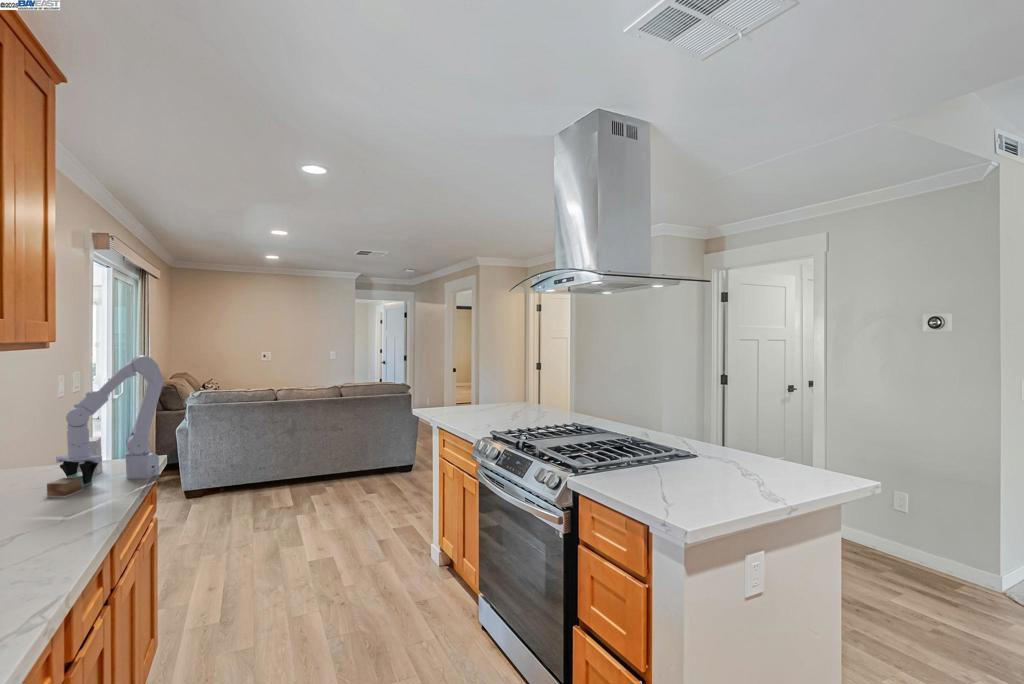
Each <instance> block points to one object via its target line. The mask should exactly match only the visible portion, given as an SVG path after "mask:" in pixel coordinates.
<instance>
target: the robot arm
mask: <svg viewBox="0 0 1024 684" xmlns="http://www.w3.org/2000/svg"><path fill="white" fill-rule="evenodd" d="M137 373H138V374H139V375H141V376H142V377H143V379H144V380H145V381H146V383H147V384H146V388H145V390H144V393H143V397H142V400H141V403H140V407H139V409H138V410H139V411H138V413H137V417H136V420H135V424H134V425H133V428H132V431H131V433H130V435H128V437H126V439H125V445H126V447H127V449H128V450H127V451H126V452H125V470H126V471H125V472H126V473H125V474H126V479H129V480H137V479H150V478H153V477H154V476H160V475H161V474H162V473H161V472H160V459H159V456H158V454H157V453H153V452H151V449H149V448H150V439H149V438H150V434H151V433H150V432H151V426H152V422H153V419H154V416H155V412H156V409H157V406H158V402H159V399H160V396H161V393H162V389H163V385H164V382H165V379H164V377H163V374H162V372H161V369H160V367H159V365H158V363H157V362H156V361H155V360H154V359H153V358H151V357H150V356H147V355H145V354H140V355H136V356H135V357H134V358H132V360H131V361H128V362H127V363H125V364H124V365H123V366H122V367H121V368H120V369H119V370H118V371H117V372H115V373H114V374H113V376H111V378H109V379H108V381H106V383H104V384H103V386H101V387H100V388H99V389H92V390H91V391H87V392H86V393H85V397H84V398H83V399H81V401H79V402H78V403H75V404H74V405H73V408H72V409H70V410H69V411H68V412H67V413H66V416H65V419H66V420H65V421H66V422H67V426H66V429H67V431H66V439H67V440H66V442H67V444H66V445H67V455H59V456H56V457H55V458H56V459H55V460H56V461H55V463H61V464H59V468H60V469H61V470H62V471H63V472H64V474H65V476H66V478H68V476H69V475H72V474H75V473H77V469H78V465H79V462H85V463H83V464H80V465H79V467H80V468H81V471H82V475H83V482H84V484H87V483H90V482H91V479H92V480H93V476H94V475H93V472H94V470H95V468H96V466H97V465H98V463H99V462H101V461H102V462H103V456H97V455H91V454H90V446H89V438H90V430H89V428H88V422H89V420H90V416H93V415H95V413H97V411H98V410H100V409H101V408H102V407H103V406H105V404H106V403H108V401H109V395H110V394H111V393H113V391H114V390H115V389H116V388H118V387H119V386H120V385H121V384H122V383H123V382H124V381H126V379H128V378H131V377H135V376H138V374H137Z"/></svg>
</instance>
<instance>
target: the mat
mask: <svg viewBox="0 0 1024 684" xmlns="http://www.w3.org/2000/svg"><path fill="white" fill-rule="evenodd" d="M84 490H85V488H84V489H83V488H82V490H80V491H78V492H75V493H72V494H70V495H67V496H47V495H45V496H44V497H45V498H47V497H50V498H51V497H53V498H57V497H59V498H66V497H69V496H71V495H75V494H77V493H80V492H81V491H84Z"/></svg>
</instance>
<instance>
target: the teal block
mask: <svg viewBox="0 0 1024 684" xmlns="http://www.w3.org/2000/svg"><path fill="white" fill-rule="evenodd" d="M68 478H81V485H82V488H83V487H87V486H88V485H91V484H93V478H92V479H91V482H90V483H87V484H84V482H83V475H82V472H78V473H75V474H72V475H69V476H68Z"/></svg>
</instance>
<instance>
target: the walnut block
mask: <svg viewBox="0 0 1024 684" xmlns="http://www.w3.org/2000/svg"><path fill="white" fill-rule="evenodd" d="M82 489H83V487H82V485H81V478H67V477H63V478H59V479H57V480H53V481H50V482H47V483H46V496H66V497H68V496H67V495H69V496H71V495H70V494H72V493H74V494H76V493H75V492H77V493H79V492H78V491H80V490H82ZM82 491H83V490H82ZM80 492H81V491H80ZM72 495H73V494H72Z"/></svg>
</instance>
